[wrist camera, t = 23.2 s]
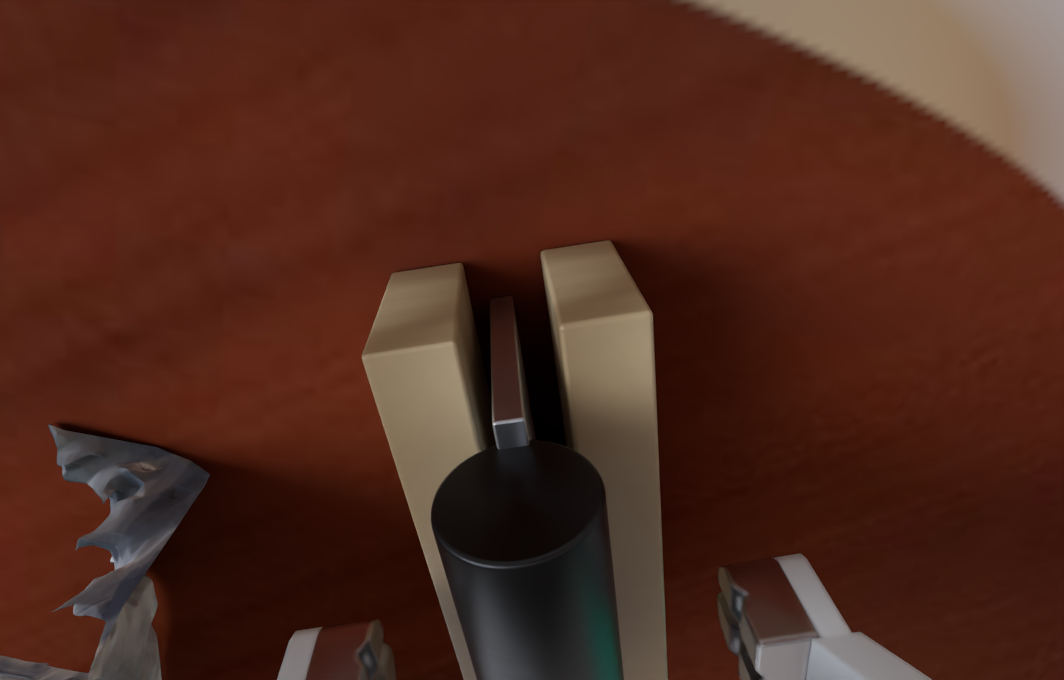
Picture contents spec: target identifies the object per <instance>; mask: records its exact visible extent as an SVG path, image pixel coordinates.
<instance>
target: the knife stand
mask: <svg viewBox="0 0 1064 680" xmlns="http://www.w3.org/2000/svg"><path fill="white" fill-rule="evenodd" d="M540 256H541V263H542V271H543V278H544V285H545V293H546V300H547V307H548V315H549V322H550V330H551V337H552V344H553V352H554V359H555V366H556V374H557V381H558V389H559V396H560V403H561V411H562V418H563V425H564V433H565V440H566V447H569V448H571V449H573V450H575V451H577V452H579V453H580V454H582V455H583V456H585V457H586V458H587V459H588V460H589V461H590V462H591V463H592V464H593V465H594V467H595V468H596V469H597V471H598V472H599V474H600V476H601V477H602V480H603V483H604V486H605V492H606V501H607V511H608V521H609V531H610V542H611V552H612V562H613V572H614V582H615V592H616V602H617V612H618V622H619V633H620V643H621V653H622V663H623V673H624V680H668V669H667V645H666V621H665V596H664V572H663V547H662V523H661V498H660V474H659V450H658V425H657V401H656V376H655V352H654V327H653V313H652V311H651V310H650V308H649V306H648V304H647V303H646V301H645V299H644V297H643V296H642V294H641V292H640V291H639V289H638V287H637V285H636V284H635V282H634V280H633V278H632V277H631V275H630V273H629V272H628V270H627V268H626V266H625V265H624V263H623V261H622V259H621V258H620V256H619V254H618V252H617V251H616V249H615V247H614V246H613V244H612V242H611V241H608V240H607V241H601V242H594V243H588V244H581V245H575V246H568V247H562V248H555V249H549V250H544V251H542V252H541V255H540ZM362 361H363V364H364V367H365V370H366V373H367V376H368V380H369V383H370V386H371V389H372V392H373V395H374V399H375V402H376V405H377V408H378V411H379V414H380V417H381V421H382V424H383V427H384V430H385V433H386V436H387V439H388V443H389V446H390V449H391V452H392V455H393V458H394V461H395V465H396V468H397V471H398V474H399V477H400V480H401V483H402V487H403V490H404V493H405V496H406V499H407V502H408V506H409V509H410V512H411V515H412V518H413V521H414V524H415V528H416V531H417V534H418V537H419V540H420V543H421V546H422V550H423V553H424V556H425V559H426V562H427V565H428V568H429V572H430V575H431V578H432V581H433V584H434V587H435V591H436V594H437V597H438V600H439V603H440V606H441V609H442V613H443V616H444V619H445V622H446V625H447V628H448V631H449V635H450V638H451V641H452V644H453V647H454V650H455V653H456V657H457V660H458V663H459V666H460V669H461V672H462V675H463V679H464V680H477V678H476V674H475V671H474V668H473V664H472V661H471V658H470V654H469V651H468V648H467V644H466V641H465V638H464V634H463V631H462V627H461V624H460V621H459V617H458V614H457V611H456V607H455V604H454V601H453V597H452V594H451V591H450V587H449V584H448V580H447V577H446V574H445V570H444V567H443V564H442V560H441V557H440V554H439V550H438V547H437V544H436V540H435V537H434V533H433V530H432V525H431V508H432V503H433V500H434V497H435V494H436V492H437V490H438V488H439V486H440V484H441V483H442V482H443V480H444V479H445V478H446V476H447V475H448V474H449V473H450V472H451V471H452V470H453V469H454V468H455V467H457V466H458V465H459V464H460V463H462V462H463V461H465V460H466V459H467V458H469V457H471V456H473V455H474V454H476V453H478V452H481V451H483V450H485V449H488V448H490V447H493V446H496V440H495V436H494V431H493V426H492V404H491V399H490V394H489V389H488V384H487V380H486V375H485V370H484V365H483V360H482V355H481V350H480V345H479V340H478V335H477V331H476V326H475V321H474V316H473V311H472V306H471V301H470V296H469V291H468V286H467V282H466V277H465V272H464V267H463V265H462V263H455V264H448V265H442V266H435V267H429V268H422V269H416V270H409V271H403V272H396V273H393V274H391V277H390V280H389V283H388V285H387V288H386V291H385V294H384V296H383V299H382V302H381V305H380V307H379V310H378V313H377V316H376V318H375V321H374V324H373V327H372V329H371V332H370V335H369V338H368V340H367V343H366V346H365V349H364V351H363V354H362Z"/></svg>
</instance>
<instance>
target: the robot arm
mask: <svg viewBox="0 0 1064 680" xmlns="http://www.w3.org/2000/svg"><path fill="white" fill-rule="evenodd" d="M717 580H718V582H719V585H720V587H721V589H722V591H721V592H720V593H719V594H718V595H717V609H718V615H719V621H720V625H721V628H722V632H723V635H724V638H725V641H726V643H727V646H728V648H729V650H730V651H732V652H733V653H734V654H735V655H737V656H738V657H739V666H738V674H739V676H740V679H741V680H932V679H931V678H929V677H928V676H926V675H925V674H923V673H922V672H920V671H919V670H917V669H916V668H914V667H913V666H911V665H910V664H908V663H907V662H905V661H904V660H902V659H901V658H899V657H898V656H896V655H895V654H893V653H892V652H890V651H889V650H887V649H886V648H884V647H883V646H881V645H880V644H878V643H877V642H875V641H874V640H872V639H871V638H869V637H868V636H866V635H865V634H863V633H862V632H853V633H852V632H851V630H850V628H849V627H848V625H847V624H846V622H845V620H844V619H843V617H842V615H841V614H840V612H839V610H838V609H837V607H836V606H835V604H834V602H833V601H832V599H831V597H830V596H829V594H828V593H827V591H826V589H825V588H824V586H823V584H822V583H821V581H820V579H819V578H818V576H817V575H816V573H815V571H814V570H813V568H812V566H811V565H810V563H809V561H808V560H807V558H806V557H805V556H803V555H802V554H793V555H787V556H781V557H775V558H771V557H770V558H764V559H758V560H752V561H746V562H740V563H734V564H728V565H723V566H720V567H719V569H718V579H717ZM383 636H384V629H383V627H382V625H381V623H380V621H379V620H373V621H365V622H357V623H350V624H342V625H334V626H326V627H318V628H312V629H305V630H298V631H295V633H294V634H293V636H292V637H291V639H290V640H289V643H288V646H287V649H286V652H285V656H284V659H283V662H282V665H281V668H280V671H279V674H278V678H277V680H396V665H395V660H394V655H393V652H392V649H391V647H390V646H389V645H387V644H386V643H384V642H383Z"/></svg>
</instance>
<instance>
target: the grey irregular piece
mask: <svg viewBox="0 0 1064 680" xmlns="http://www.w3.org/2000/svg"><path fill="white" fill-rule="evenodd" d="M48 426H49V428H50V431H51V433H52V435H53V437H54V440H55V443H56V445H57V449H58V453H57V464H58V465H59V466H60V467H62V475H63V478H64V479H65V480H67V481H69V482H79V483H87V484H88V485H89V486H90V487H92V488H93V489H94V491H95V492H96V493H97V495H98V496H99V497H101V499H102V503H103V504H104V502H105V501H106V499H107V498H109V499H110V507H111V513H110V515H109V516H108V518H107V519H106V520H105V521H104V522H103V523H102V524H101V525H100V526H99V527H98V528H97V529H96V530H95V531H94V532H91V533H89V534H87V535H85V536H83V537H81V538H79V539H78V541H77V548H76V549H78V548H79V547H84V546H90V545H95V546H98V547H101V548H104V549H107V550H109V551H110V552H111V554H112V558H111V560H110V562H111V563H113V564H114V565H115V571H112V572H110V573H108V574H107V575H104V576H102V577H98V578H96V579H94V580H93V581H92V582H91V583H90V584H89V586H88V587H87V588H86V589H85V590H84V591H82V592H81V593H80V594H78V595H77V596H75V597H73V598H72V599H71V600H69V601H68V602H66V603H65V604H63V605H62V606H60V607H59V608H57V609H56V610H59V609H62V608H65V607H68V606H72V605H74V609H73V614H75V615H77V616H85V615H87V616H93V617H96V618H99V619H102V620H105V621H106V624H105V627H104V631H103V634H102V636H101V639H100V643H99V646H98V648H97V651H96V654H95V658H94V661H93V663H92V666H91V669H90V671H89V673H83V672H76V671H71V670H66V669H60V668H55V667H51V666H49V665H48V664H46V663H35V662H28V661H23V660H20V659H16V658H11V657H6V656H0V680H162V676H161V668H160V657H159V649H158V640H157V634H156V633H155V631H154V629H153V627H152V625H151V623H152V620H153V618H154V616H155V613H156V610H157V606H158V603H157V599H156V594H155V590H154V585H153V581H152V580H151V579H150V578H149V577H148V576H146V575H145V573H146V572H147V570H148V569H149V567H150V566H151V564H152V563H153V562H154V560H155V559H156V557H157V556H158V554H159V553H160V551H161V550H162V548H163V547H164V545H165V544H166V543H167V541H168V540H169V538H170V537H171V535H172V534H173V532H174V531H175V529H176V528H177V526H178V525H179V523H180V522H181V520H182V519H183V517H184V516H185V514H186V513H187V511H188V510H189V508H190V507H191V505H192V504H193V502H194V501H195V500H196V498H197V497H198V495H199V494H200V492H201V491H202V490H203V488H204V486H205V485H206V483H207V480H208V478H209V476H210V474H209V473H208V472H206V471H205V470H203V469H202V468H201V467H199V466H198V465H196V464H195V463H193V462H192V461H190V460H188V459H185V458H182V457H180V456H178V455H175V454H173V453H170V452H168V451H165V450H163V449H160V448H158V447H153V446H148V445H143V444H137V443H132V442H126V441H121V440H115V439H110V438H105V437H99V436H94V435H88V434H83V433H77V432H72V431H67V430H62V429H59V428H57V427H54V426H52V425H49V424H48ZM56 610H54V611H56ZM52 612H53V611H52Z"/></svg>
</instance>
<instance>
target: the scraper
mask: <svg viewBox="0 0 1064 680" xmlns="http://www.w3.org/2000/svg"><path fill="white" fill-rule="evenodd" d="M490 343H491V392H492V426H493V431H494V436H495V440H496V446H493V447H490V448H488V449H485V450H483V451H481V452H478V453H476V454H474V455H473V456H471V457H469V458H467V459H466V460H465V461H463V462H462V463H460V464H459V465H458V466H457V467H455V468H454V469H453V470H452V471H451V472H450V473H449V474H448V475H447V476H446V478H445V479H444V480H443V482H442V483H441V484H440V486H439V488H438V490H437V492H436V494H435V497H434V500H433V503H432V508H431V525H432V530H433V533H434V537H435V540H436V544H437V547H438V550H439V554H440V557H441V560H442V564H443V567H444V570H445V574H446V577H447V580H448V584H449V587H450V591H451V594H452V597H453V601H454V604H455V607H456V611H457V614H458V617H459V621H460V624H461V627H462V631H463V634H464V638H465V641H466V644H467V648H468V651H469V654H470V658H471V661H472V664H473V668H474V671H475V674H476V678H477V680H624V673H623V663H622V653H621V643H620V633H619V622H618V612H617V602H616V592H615V582H614V572H613V562H612V552H611V542H610V531H609V521H608V511H607V501H606V492H605V486H604V483H603V480H602V477H601V476H600V474H599V472H598V471H597V469H596V468H595V467H594V465H593V464H592V463H591V462H590V461H589V460H588V459H587V458H586V457H585V456H583V455H582V454H580V453H579V452H577V451H575V450H573V449H571V448H569V447H566V446H564V445H561V444H557V443H553V442H547V441H537V440H536V436H535V430H534V423H533V417H532V411H531V405H530V399H529V393H528V387H527V381H526V375H525V369H524V363H523V357H522V351H521V344H520V338H519V332H518V326H517V320H516V314H515V308H514V302H513V297H512V296H505V297H499V298H492V299H490Z"/></svg>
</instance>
